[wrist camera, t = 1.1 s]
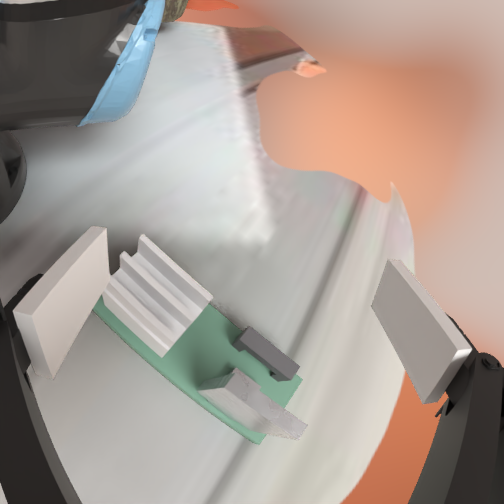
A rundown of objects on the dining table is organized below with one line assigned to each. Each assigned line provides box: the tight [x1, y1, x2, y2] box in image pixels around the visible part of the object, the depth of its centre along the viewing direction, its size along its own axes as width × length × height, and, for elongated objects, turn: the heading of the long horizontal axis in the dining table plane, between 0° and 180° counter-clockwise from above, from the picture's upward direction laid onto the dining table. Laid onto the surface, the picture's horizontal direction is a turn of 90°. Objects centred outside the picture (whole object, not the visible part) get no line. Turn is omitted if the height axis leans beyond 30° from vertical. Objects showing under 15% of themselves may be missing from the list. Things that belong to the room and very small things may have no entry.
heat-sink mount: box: [92, 234, 303, 445], centre depth 26 cm, size 20×8×9 cm, turn 53°
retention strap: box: [196, 367, 308, 440], centre depth 23 cm, size 6×4×10 cm, turn 53°
